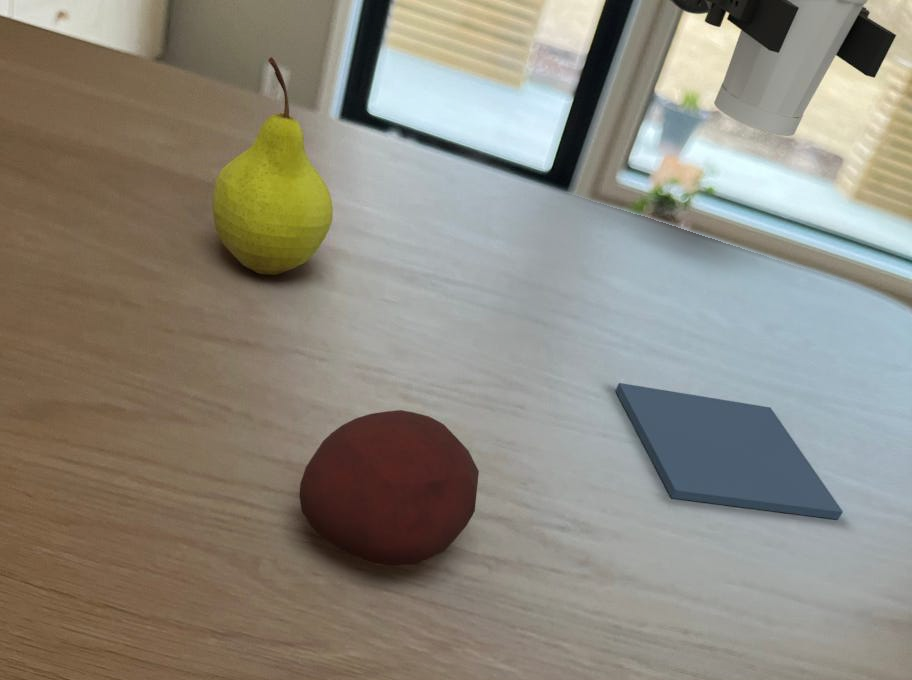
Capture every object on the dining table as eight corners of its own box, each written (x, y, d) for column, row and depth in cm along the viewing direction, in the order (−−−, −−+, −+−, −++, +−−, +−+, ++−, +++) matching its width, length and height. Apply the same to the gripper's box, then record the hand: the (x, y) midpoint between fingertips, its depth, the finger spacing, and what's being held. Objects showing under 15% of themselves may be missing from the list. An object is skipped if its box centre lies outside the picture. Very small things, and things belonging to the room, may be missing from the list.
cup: (683, 89, 77) (759, -101, 69) (761, 102, 81) (841, -77, 73) (747, 134, 73) (835, -64, 65) (826, 145, 76) (919, -40, 69)
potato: (491, 584, 48) (534, 478, 44) (327, 607, 44) (357, 493, 40) (421, 486, 52) (454, 381, 48) (266, 499, 48) (288, 385, 44)
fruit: (289, 240, 68) (324, 41, 60) (338, 293, 65) (382, 89, 57) (190, 240, 65) (213, 28, 57) (236, 296, 61) (268, 78, 53)
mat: (766, 414, 68) (770, 407, 68) (838, 519, 61) (843, 511, 60) (615, 390, 65) (618, 382, 65) (671, 498, 58) (675, 489, 57)
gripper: (772, 27, 91) (918, 129, 75) (564, -29, 83) (680, 71, 68) (816, -73, 86) (981, 14, 70) (599, -142, 78) (732, -61, 63)
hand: (833, 42), depth 69 cm, fingers closed on cup, 7 cm apart
